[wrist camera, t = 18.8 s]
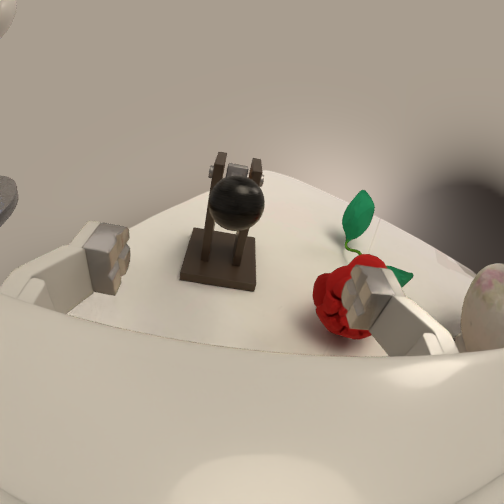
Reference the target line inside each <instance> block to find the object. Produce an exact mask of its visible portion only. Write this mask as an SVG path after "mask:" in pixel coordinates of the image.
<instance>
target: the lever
mask: <svg viewBox="0 0 504 504" xmlns="http://www.w3.org/2000/svg"><path fill="white" fill-rule="evenodd" d="M247 174H248V167H247V166H243V165H238V164H232V163H229V164H228V168H227V174H226V178H223V179H222V180H220V181H219V182H218V183H217V184H216V185H215V186H214V187H213V189H212V191H211V193H210V196H209V202H208V205H209V211H210V214H211V216H212V218H213V219H214V221H215V222H216V223H217V224H218V225H220V226H221V227H223V228H225V229H227V230H231V231H242V230H245V229H248V228H250V227H252V226H253V225H254V224H256V223H257V222H258V220H259V219H260V217H261V216H262V213H263V210H264V196H263V193H262V190H261V189H260V187H259V186H258V185H257V184H256V183H255V182H254V181H253V180H251V179H250V178H248V177H247Z"/></svg>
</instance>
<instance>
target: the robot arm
mask: <svg viewBox="0 0 504 504" xmlns="http://www.w3.org/2000/svg"><path fill="white" fill-rule="evenodd" d="M15 13H16V0H0V39H1V38H2V36H3V35H4V34H5V33H6V32H7V30H8V29H9V27H10V26H11V24H12V22H13V19H14V17H15ZM128 240H129V229H128V228H127V227H124V226H118V225H113V224H107V223H101V222H96V221H88V222H87V223H86V224H85V225H84V227H83V228H82V229H81V230H80V231H79V233H78V234H77V235H76V236H75V238H74V239H73V240H72V241H71V243H70V244H69V245H63V246H61V247H59V248H57V249H55V250H53V251H51V252H49V253H46V254H44V255H42V256H40V257H38V258H36V259H34V260H32V261H30V262H28V263H26V264H24V265H22V266H20V267H18V268H16V269H14V270H13V271H12V272H11V273H10V275H9V276H8V277H7V278H6V280H5V281H4V283H3V284H2V285H1V287H0V504H504V348H500V349H492V350H484V351H475V352H465V353H459V351H458V349H457V346H456V344H455V342H454V340H453V338H452V336H451V334H450V332H449V331H447V330H446V329H445V328H444V327H443V326H442V325H441V324H440V323H438V322H437V321H436V320H435V319H434V318H433V317H432V316H430V315H429V314H428V313H427V312H426V311H425V310H423V309H422V308H421V307H420V306H419V305H418V304H416V303H415V302H414V301H413V300H412V299H410V298H408V297H406V296H405V294H404V292H403V290H402V288H401V286H400V284H399V282H398V280H397V279H396V277H395V275H394V273H393V271H392V270H390V269H385V268H376V267H369V266H363V265H355V266H354V267H353V269H352V271H351V277H352V278H351V279H349V280H348V281H347V282H346V283H345V285H344V287H343V289H342V295H341V298H342V304H343V306H344V307H345V308H346V309H347V310H348V312H347V314H346V317H347V320H348V324H349V327H350V329H361V330H369V332H370V333H371V334H372V336H373V337H374V338H375V339H376V341H377V342H378V343H379V344H380V345H381V347H382V348H383V349H384V350H385V352H386V353H387V354H388V355H389V357H352V356H324V355H306V354H292V353H279V352H268V351H258V350H248V349H240V348H231V347H224V346H216V345H209V344H202V343H196V342H190V341H183V340H178V339H172V338H166V337H161V336H156V335H151V334H146V333H141V332H136V331H131V330H127V329H122V328H118V327H113V326H109V325H105V324H101V323H97V322H93V321H89V320H85V319H81V318H78V317H74V316H71V315H67V313H68V312H69V311H70V310H72V309H73V308H74V307H76V306H77V305H78V304H80V303H81V302H82V301H83V300H85V299H86V298H87V297H89V296H90V295H91V294H93V292H98V293H103V294H108V295H113V296H115V295H116V293H117V291H118V289H119V287H120V285H121V276H123V275H125V274H126V272H127V270H128V267H129V262H130V248H129V246H128V245H127V244H126V243H127V241H128Z"/></svg>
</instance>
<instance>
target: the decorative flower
mask: <svg viewBox="0 0 504 504" xmlns="http://www.w3.org/2000/svg"><path fill="white" fill-rule="evenodd" d="M374 208H375V207H374V203H373V201H372V199H371V197H370V196H369V195H368V193H367V192H366V191H365V190H361V191H360V192H359V193H358V194H357V195H356V197H355V198H354V199H353V200H352V201H351V203H350V204H349V205H348V207H347V208H346V211H345V213H344V215H343V219H342V225H343V229H344V231H345V234H346V242H345V248H346V249H347V250H348V251H352V252H356V253H358V254H359V256H357V257H355V258H354V259H353V260H352V261H351V262H350V263H349V264H348V265H347V266H342V267H340V268H338V269H336V270H334V271H333V272H332V273H324V274H322V275H320V276H318V278H317V279H316V281H315V283H314V288H313V300H314V304H315V306H316V307H317V308H316V313H317V315H318V317H319V319H320V321H321V322H322V323H323V325H324V326H325V327H326V328H327V330H329V331H330V332H332V333H334V334H337V335H341V336H343V337H347V338H351V339H362V338H366V337H368V336H371V335H372V334H371V333H370V332H369V330H361V329H350V327H349V324H348V320H347V317H346V314H347V312H348V310H347V309H346V308H345V307H344V306H343V304H342V298H341V295H342V289H343V287H344V285H345V283H346V282H347V281H348V280H349V279H351V278H352V277H351V271H352V269H353V267H354V266H355V265H363V266H369V267H376V268H385V269H390V270H392V271H393V273H394V275H395V277H396V279H397V280H398V282H399V284H400V286H401V288H402V287H403V286H404V285H405V284H406V283H408V282H409V281H410V280H411V279H412V278H413V274H412V273H408V272H405V271H403V270H400V269H397V268H395V267H392V266H386V265H385V263H384V262H383V261H382V260H380V259H379V258H378V257H376V256H373V255H370V254H362V253H361V252H360V251H358V250H355V249H350V248H348V247H347V243H348V242H349V241H351V240H352V239H355V238H357V237H359V236H360V235H361V234H363V233H364V231H365V230H366V229H367V228H368V227H369V225H370V223H371V220H372V217H373V213H374Z"/></svg>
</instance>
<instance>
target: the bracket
mask: <svg viewBox="0 0 504 504" xmlns="http://www.w3.org/2000/svg"><path fill="white" fill-rule="evenodd" d="M226 156H227V153H223V152H218V155H217V158H216V161H215V163H214V166H210V170H209V178H212V181H211V188H210V193H211V191H212V189H213V187H214V186H215V185H216V184H217V183H218V182H219V181H220V180H222V179H223V173H224V168H225V162H226ZM248 178H250V179H251V180H253V181H254V182H255V183H256V184H257V185H258V186H259V187H262V185H263V181H264V175H262V166H261V160H260V159H256V158H253V160H252V164H251V168H250V173H249V177H248ZM209 196H210V194H209ZM208 202H209V200H208ZM214 226H215V221H214V219H213V218H212V216H211V214H210V211H209V205H208V207H207V214H206V221H205V228H204V229H200V228H193V231H192V235H191V238H190V241H189V245H188V248H187V251H186V255H185V258H184V261H183V265H182V268H181V272H180V280H185V281H191V282H197V283H203V284H209V285H215V286H222V287H228V288H234V289H241V290H248V291H254V290H255V286H256V259H255V238H254V237H248V236H247V235H248V231H249V228H248V229H245V230H242V231H237V233H236V234H230V233H224V232H218V231H214Z"/></svg>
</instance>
